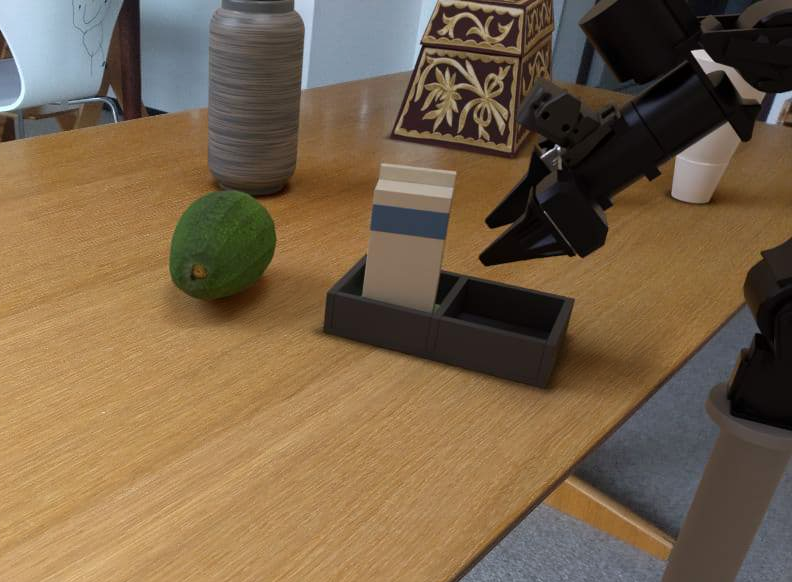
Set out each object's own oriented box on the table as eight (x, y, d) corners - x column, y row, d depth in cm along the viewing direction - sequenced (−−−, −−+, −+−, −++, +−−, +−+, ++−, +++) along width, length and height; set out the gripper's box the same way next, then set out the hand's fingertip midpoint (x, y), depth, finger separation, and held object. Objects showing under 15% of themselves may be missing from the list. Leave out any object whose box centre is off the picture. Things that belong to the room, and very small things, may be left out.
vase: (227, 203, 110) (232, 5, 98) (194, 175, 119) (195, -10, 107) (309, 194, 114) (324, 2, 102) (272, 168, 123) (281, -12, 111)
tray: (565, 337, 83) (575, 298, 80) (544, 388, 75) (555, 346, 72) (361, 290, 90) (366, 253, 88) (322, 332, 82) (326, 292, 80)
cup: (679, 212, 114) (724, 67, 104) (633, 185, 123) (671, 49, 113) (750, 209, 116) (801, 67, 106) (699, 183, 125) (743, 49, 115)
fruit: (234, 336, 80) (237, 233, 75) (138, 314, 83) (134, 213, 78) (290, 275, 92) (296, 182, 87) (204, 258, 95) (205, 167, 90)
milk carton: (434, 305, 86) (458, 161, 78) (429, 336, 80) (454, 184, 73) (368, 296, 87) (386, 153, 79) (358, 325, 81) (376, 175, 74)
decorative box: (446, 94, 165) (464, -24, 155) (551, 109, 159) (577, -14, 148) (389, 138, 138) (406, -2, 128) (513, 158, 132) (542, 12, 121)
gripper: (588, 28, 75) (439, 143, 83) (598, 70, 60) (415, 206, 68) (659, 130, 78) (508, 232, 86) (687, 196, 62) (500, 312, 71)
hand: (484, 242), depth 78 cm, fingers open, 9 cm apart
